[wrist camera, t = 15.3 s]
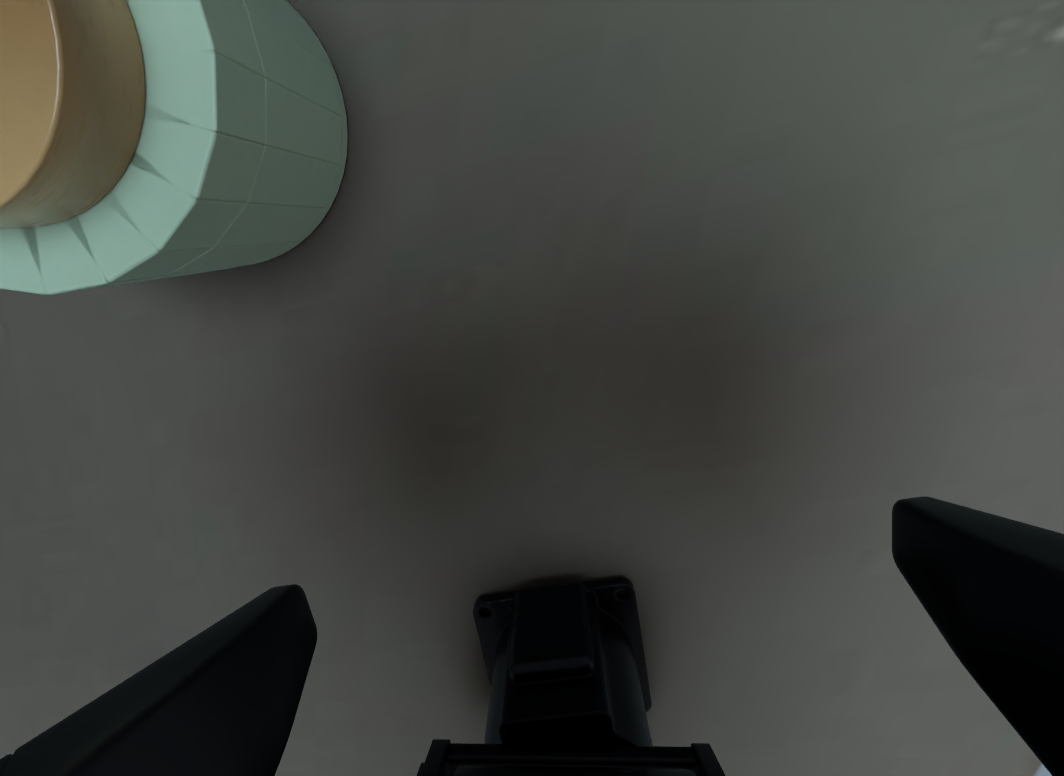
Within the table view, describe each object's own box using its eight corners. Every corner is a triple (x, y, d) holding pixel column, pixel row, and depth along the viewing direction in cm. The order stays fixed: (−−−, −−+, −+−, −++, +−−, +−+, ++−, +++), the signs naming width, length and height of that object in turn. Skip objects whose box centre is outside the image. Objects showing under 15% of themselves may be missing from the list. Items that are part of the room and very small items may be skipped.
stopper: (291, 204, 16) (121, 192, 9) (81, 245, 16) (-212, 259, 10) (215, -62, 14) (-54, -291, 8) (-18, -7, 14) (-451, -182, 8)
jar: (379, 241, 19) (274, 252, 12) (132, 287, 19) (-111, 325, 12) (301, -72, 16) (108, -303, 9) (21, -6, 17) (-364, -173, 10)
